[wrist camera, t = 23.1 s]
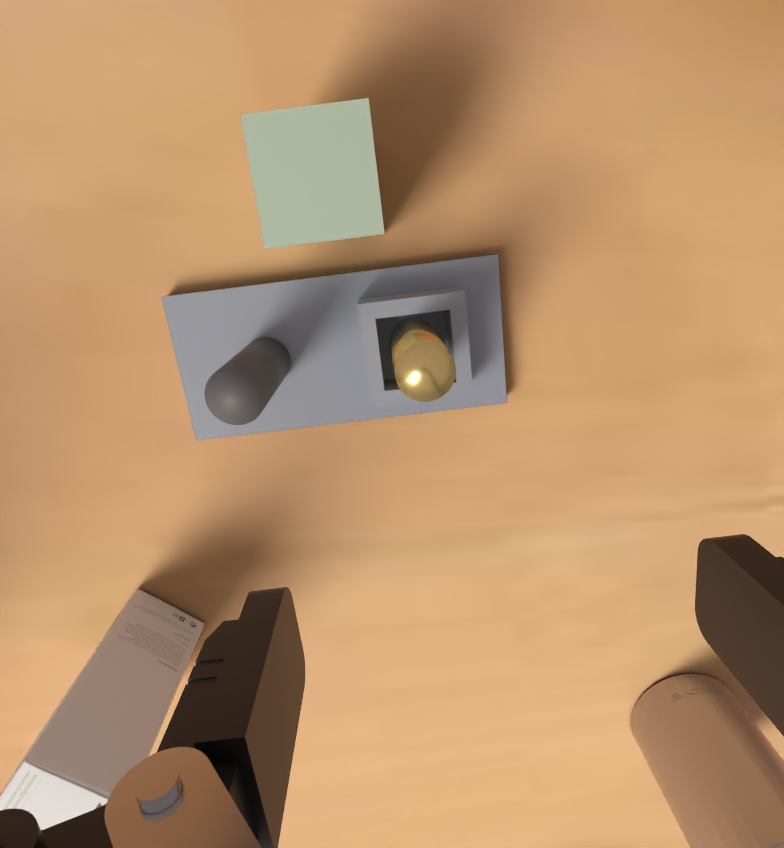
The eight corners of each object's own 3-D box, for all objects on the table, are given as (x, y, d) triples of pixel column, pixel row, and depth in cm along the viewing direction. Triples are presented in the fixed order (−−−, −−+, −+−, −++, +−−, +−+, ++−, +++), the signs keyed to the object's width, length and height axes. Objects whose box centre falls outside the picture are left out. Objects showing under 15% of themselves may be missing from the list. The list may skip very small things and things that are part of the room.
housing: (382, 234, 37) (384, 233, 26) (298, 245, 37) (264, 249, 26) (371, 140, 36) (368, 97, 25) (283, 152, 36) (240, 114, 25)
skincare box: (139, 584, 45) (22, 753, 30) (212, 624, 47) (134, 805, 32) (91, 656, 47) (-40, 847, 32) (163, 692, 49) (68, 892, 34)
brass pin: (439, 362, 39) (458, 398, 30) (392, 368, 39) (398, 405, 30) (435, 315, 38) (453, 338, 29) (387, 321, 38) (391, 345, 29)
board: (503, 398, 41) (541, 448, 31) (201, 435, 41) (146, 495, 32) (494, 254, 38) (533, 260, 28) (167, 295, 38) (96, 315, 29)
